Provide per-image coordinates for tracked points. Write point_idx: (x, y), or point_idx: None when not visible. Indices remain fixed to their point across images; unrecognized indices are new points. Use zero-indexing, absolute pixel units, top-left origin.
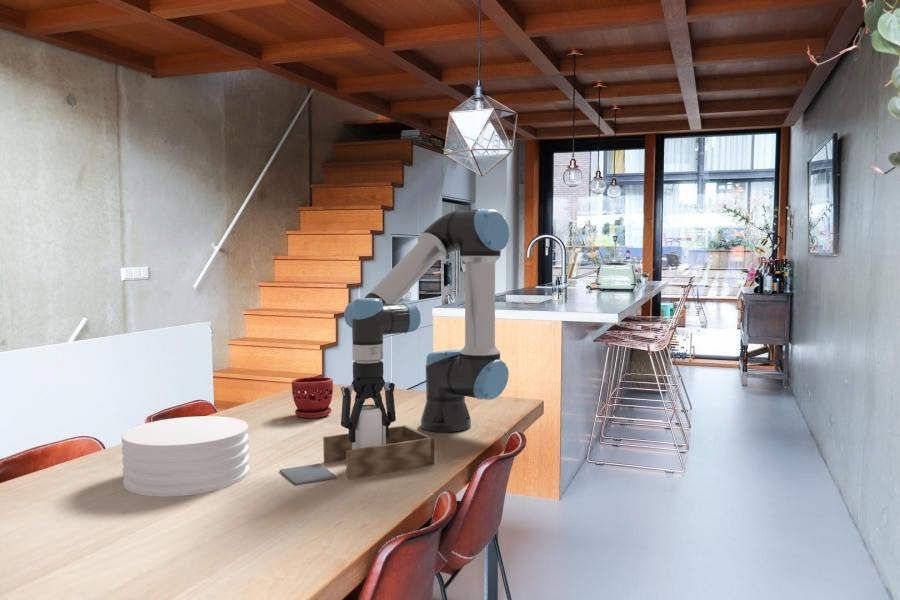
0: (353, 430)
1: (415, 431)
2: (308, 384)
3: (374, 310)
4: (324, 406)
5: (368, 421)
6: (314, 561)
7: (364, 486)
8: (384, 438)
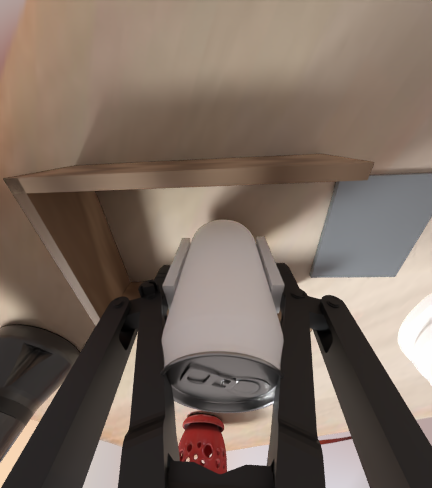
0: (289, 290)
1: (73, 278)
2: None
3: None
4: (193, 431)
5: (248, 292)
6: None
7: (329, 46)
8: (177, 259)
